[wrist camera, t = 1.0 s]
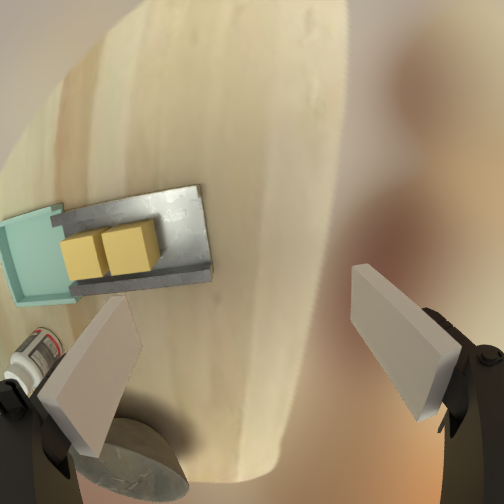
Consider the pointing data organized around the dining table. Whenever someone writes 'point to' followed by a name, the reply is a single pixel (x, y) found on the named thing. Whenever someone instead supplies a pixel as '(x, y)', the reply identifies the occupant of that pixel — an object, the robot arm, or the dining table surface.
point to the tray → (35, 259)
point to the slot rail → (167, 231)
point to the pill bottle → (34, 359)
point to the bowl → (134, 464)
